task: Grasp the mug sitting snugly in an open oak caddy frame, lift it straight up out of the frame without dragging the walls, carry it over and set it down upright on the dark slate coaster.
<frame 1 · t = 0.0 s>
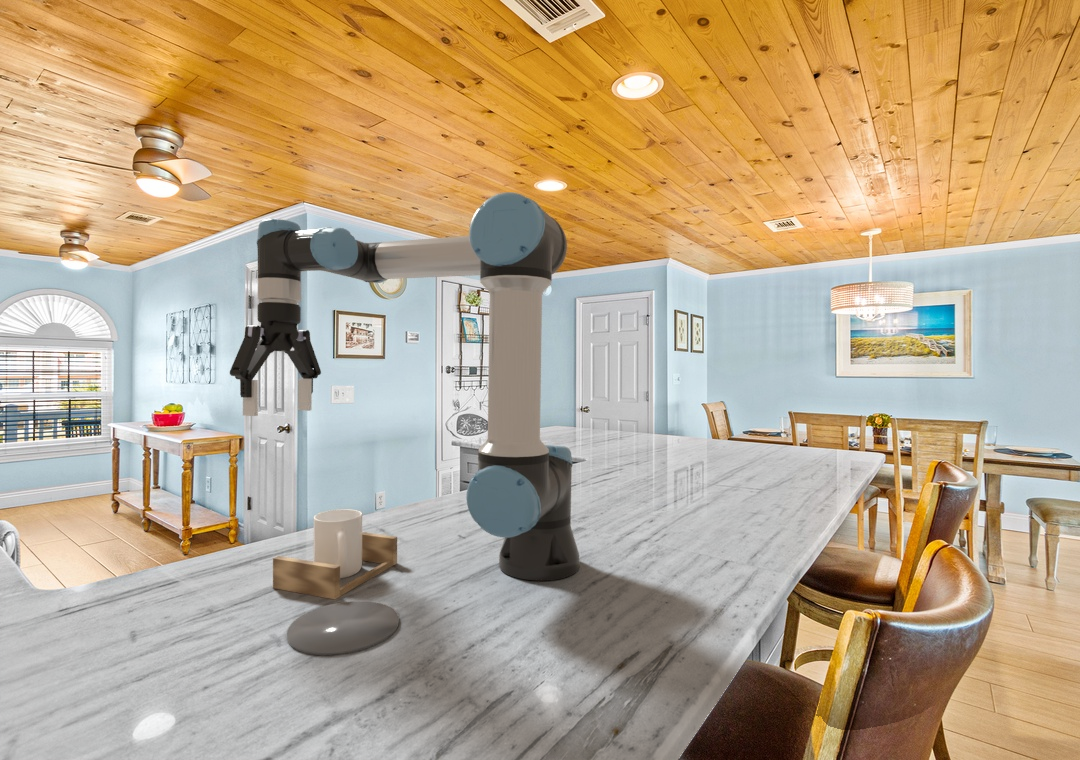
hand: (279, 413, 107), 28 cm above the kitchen island countertop, fingers open, 13 cm apart
caddy: (338, 574, 98), on the kitchen island countertop
mug: (338, 576, 98), resting in caddy
coaster: (344, 627, 79), on the kitchen island countertop
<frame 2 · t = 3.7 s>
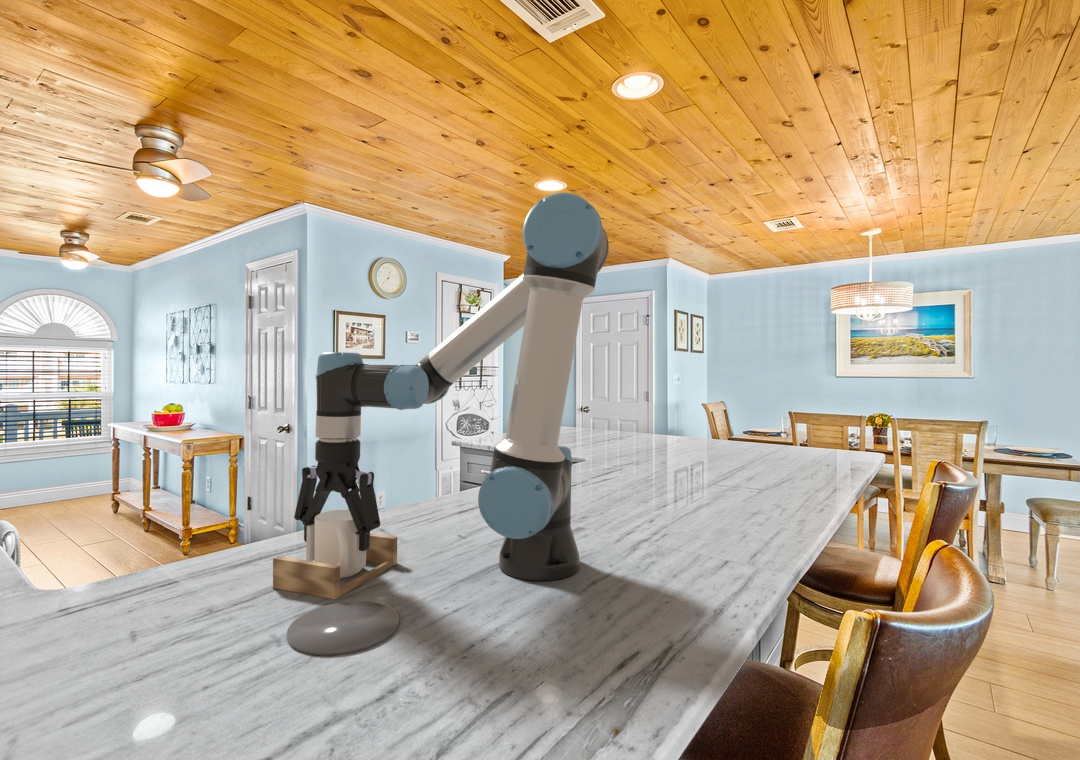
hand: (335, 563, 98), 2 cm above the kitchen island countertop, fingers closed on mug, 9 cm apart
mug: (339, 576, 98), resting in caddy, touching gripper
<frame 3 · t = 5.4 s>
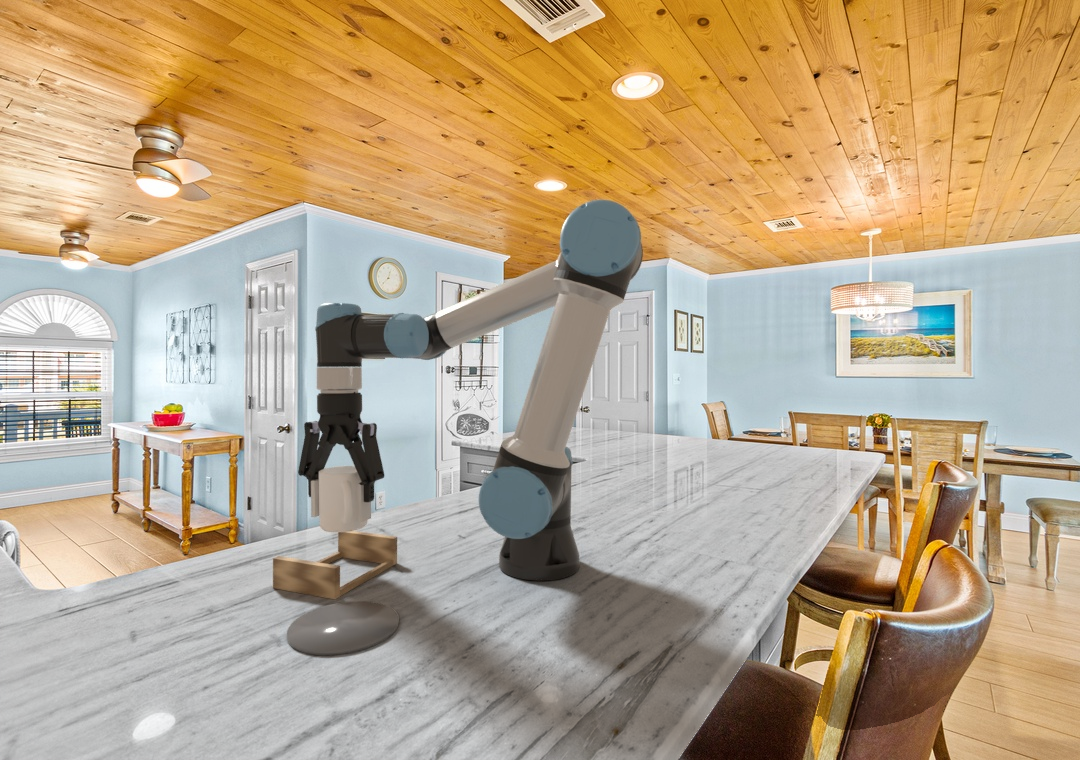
hand: (341, 517, 98), 10 cm above the kitchen island countertop, fingers closed on mug, 9 cm apart
mug: (345, 530, 98), point 8 cm above the kitchen island countertop, touching gripper
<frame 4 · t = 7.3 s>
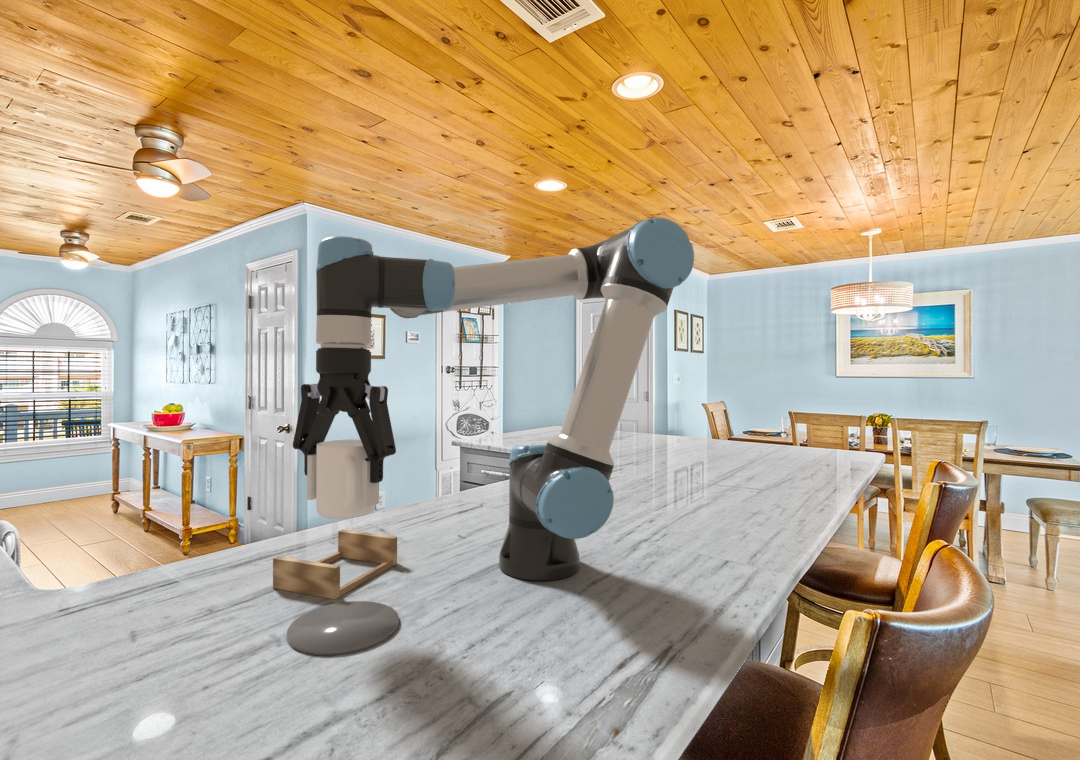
hand: (342, 501, 80), 18 cm above the kitchen island countertop, fingers closed on mug, 9 cm apart
mug: (347, 516, 80), point 15 cm above the kitchen island countertop, touching gripper
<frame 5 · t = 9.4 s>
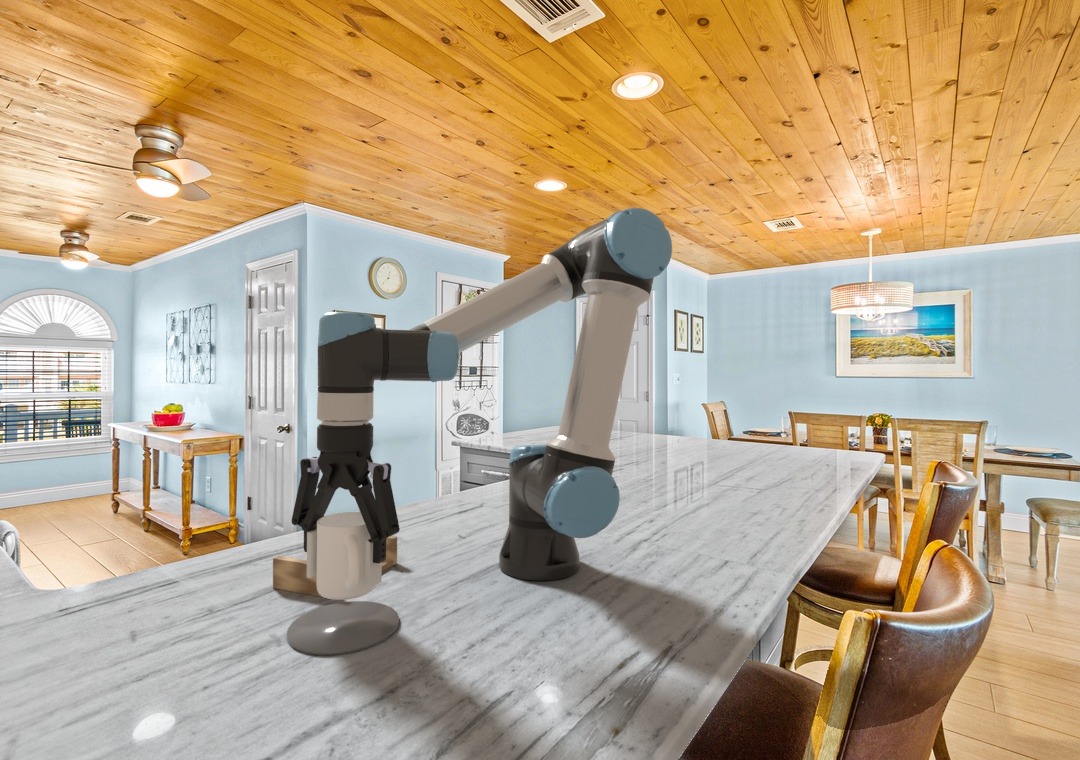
hand: (343, 579, 78), 7 cm above the kitchen island countertop, fingers closed on mug, 9 cm apart
mug: (348, 595, 78), point 5 cm above the kitchen island countertop, touching gripper
when the fingers open (3 cm above the kitchen island countertop, at t = 11.1 s): mug stays where it is, resting on coaster.
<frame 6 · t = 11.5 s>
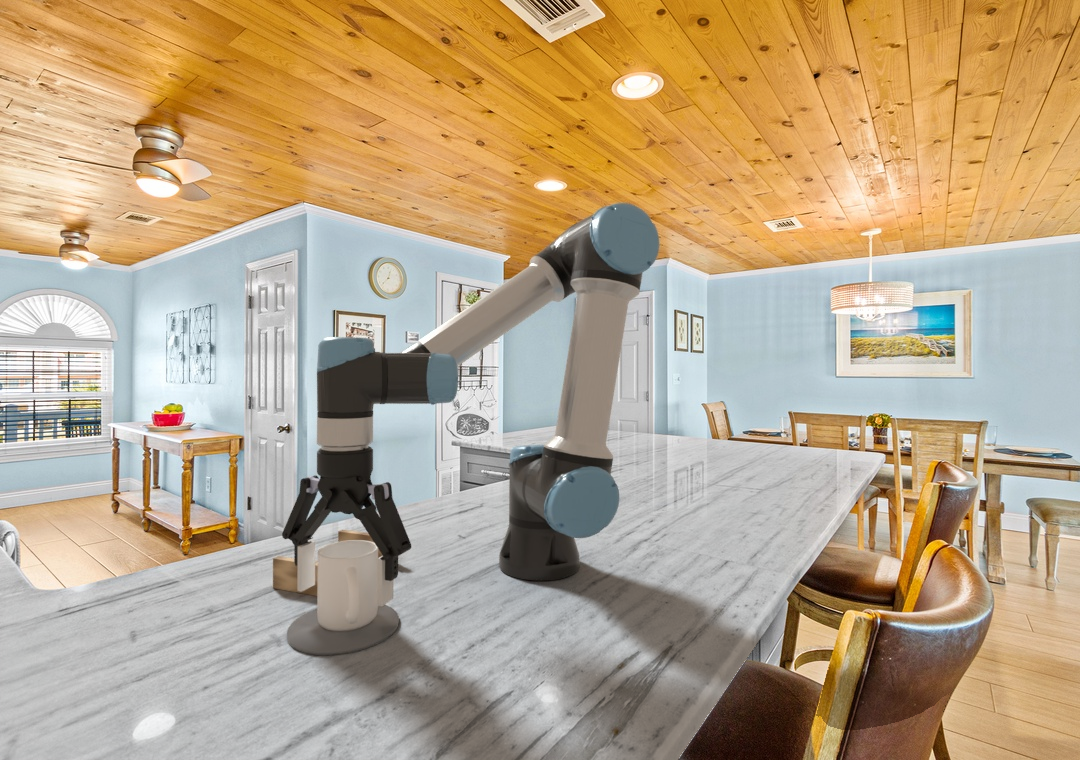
hand: (344, 595, 78), 5 cm above the kitchen island countertop, fingers open, 13 cm apart
mug: (349, 626, 78), resting on coaster
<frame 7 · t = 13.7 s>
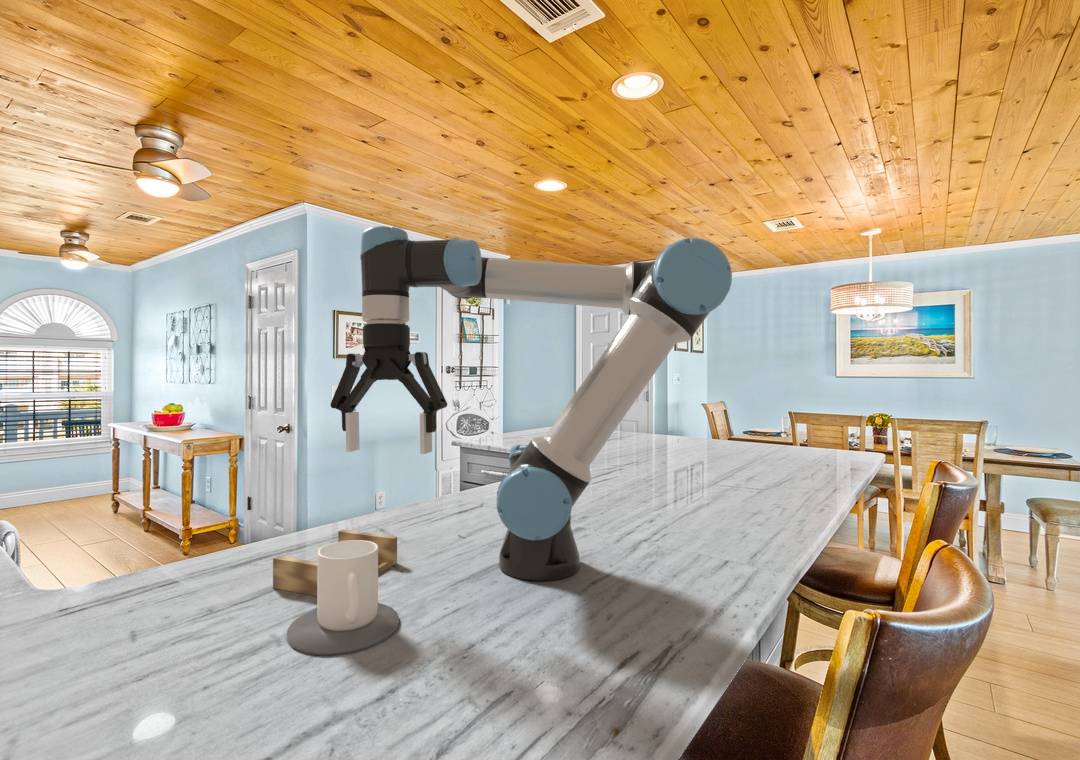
hand: (389, 451, 92), 23 cm above the kitchen island countertop, fingers open, 13 cm apart
nothing on the kitchen island countertop moved.
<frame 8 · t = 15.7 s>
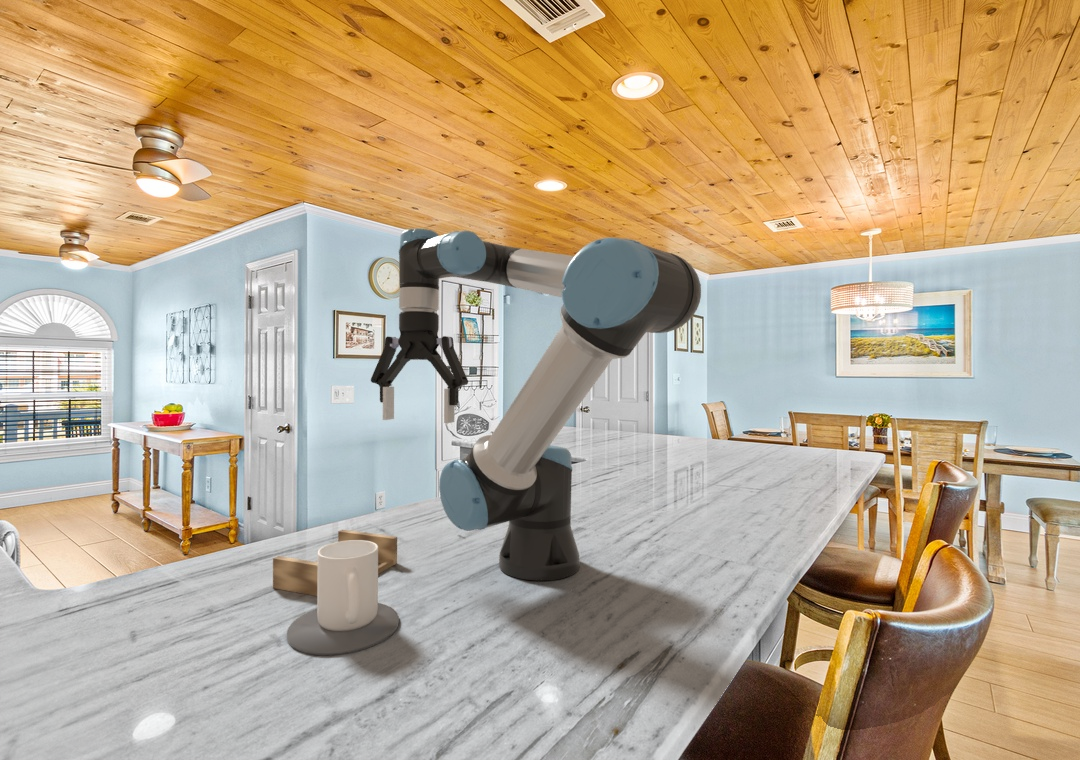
hand: (418, 421, 107), 27 cm above the kitchen island countertop, fingers open, 13 cm apart
nothing on the kitchen island countertop moved.
at the end: mug inside the target area on the coaster (0.8 cm from its centre), point 0.4 cm above the coaster's base; mug tilted 0°; the gripper is holding nothing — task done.
